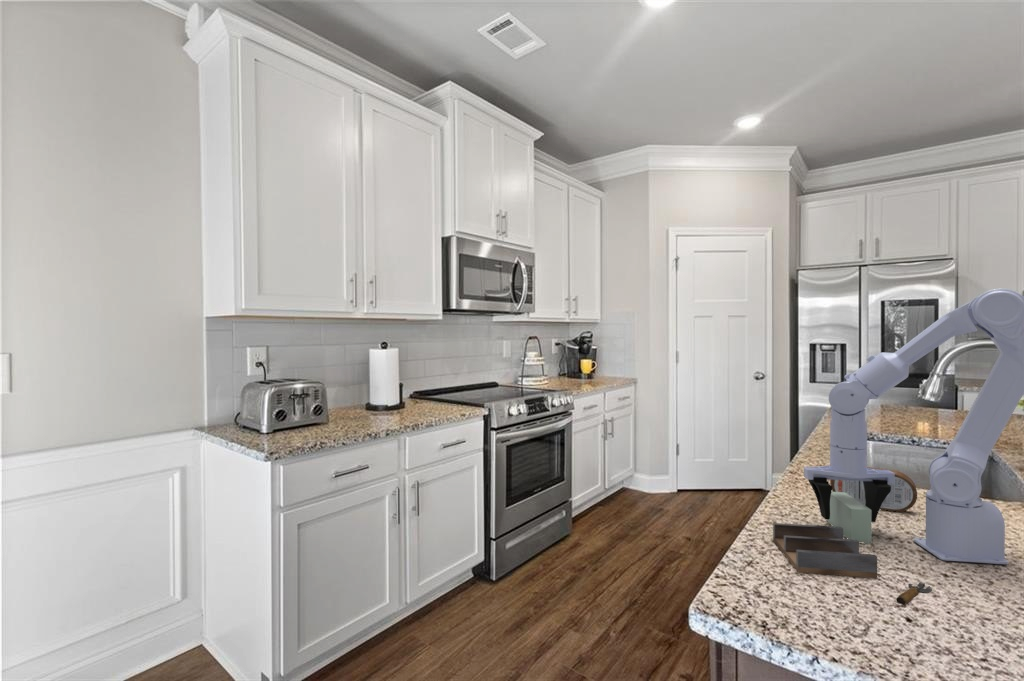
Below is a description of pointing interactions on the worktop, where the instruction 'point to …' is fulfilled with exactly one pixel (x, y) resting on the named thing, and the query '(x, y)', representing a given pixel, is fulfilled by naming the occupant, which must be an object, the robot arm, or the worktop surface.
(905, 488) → the tin
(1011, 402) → the robot arm
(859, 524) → the tall sage green block
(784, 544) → the rack
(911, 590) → the can opener
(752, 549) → the worktop surface
